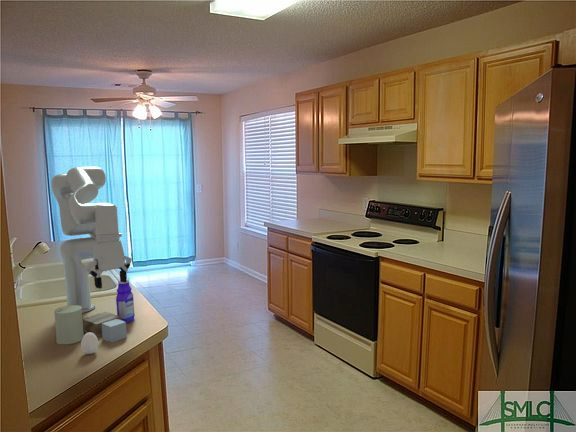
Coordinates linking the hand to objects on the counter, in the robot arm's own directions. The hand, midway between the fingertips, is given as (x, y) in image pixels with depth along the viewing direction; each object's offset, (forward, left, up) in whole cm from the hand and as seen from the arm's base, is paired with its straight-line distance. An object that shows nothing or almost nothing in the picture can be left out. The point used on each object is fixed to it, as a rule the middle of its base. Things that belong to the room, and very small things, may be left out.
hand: (111, 284), depth 161 cm
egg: (+6, -13, -20) cm, 25 cm away
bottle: (-12, +13, -20) cm, 27 cm away
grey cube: (+1, 0, -20) cm, 20 cm away
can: (-12, -11, -20) cm, 26 cm away
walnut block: (-11, +2, -20) cm, 23 cm away
